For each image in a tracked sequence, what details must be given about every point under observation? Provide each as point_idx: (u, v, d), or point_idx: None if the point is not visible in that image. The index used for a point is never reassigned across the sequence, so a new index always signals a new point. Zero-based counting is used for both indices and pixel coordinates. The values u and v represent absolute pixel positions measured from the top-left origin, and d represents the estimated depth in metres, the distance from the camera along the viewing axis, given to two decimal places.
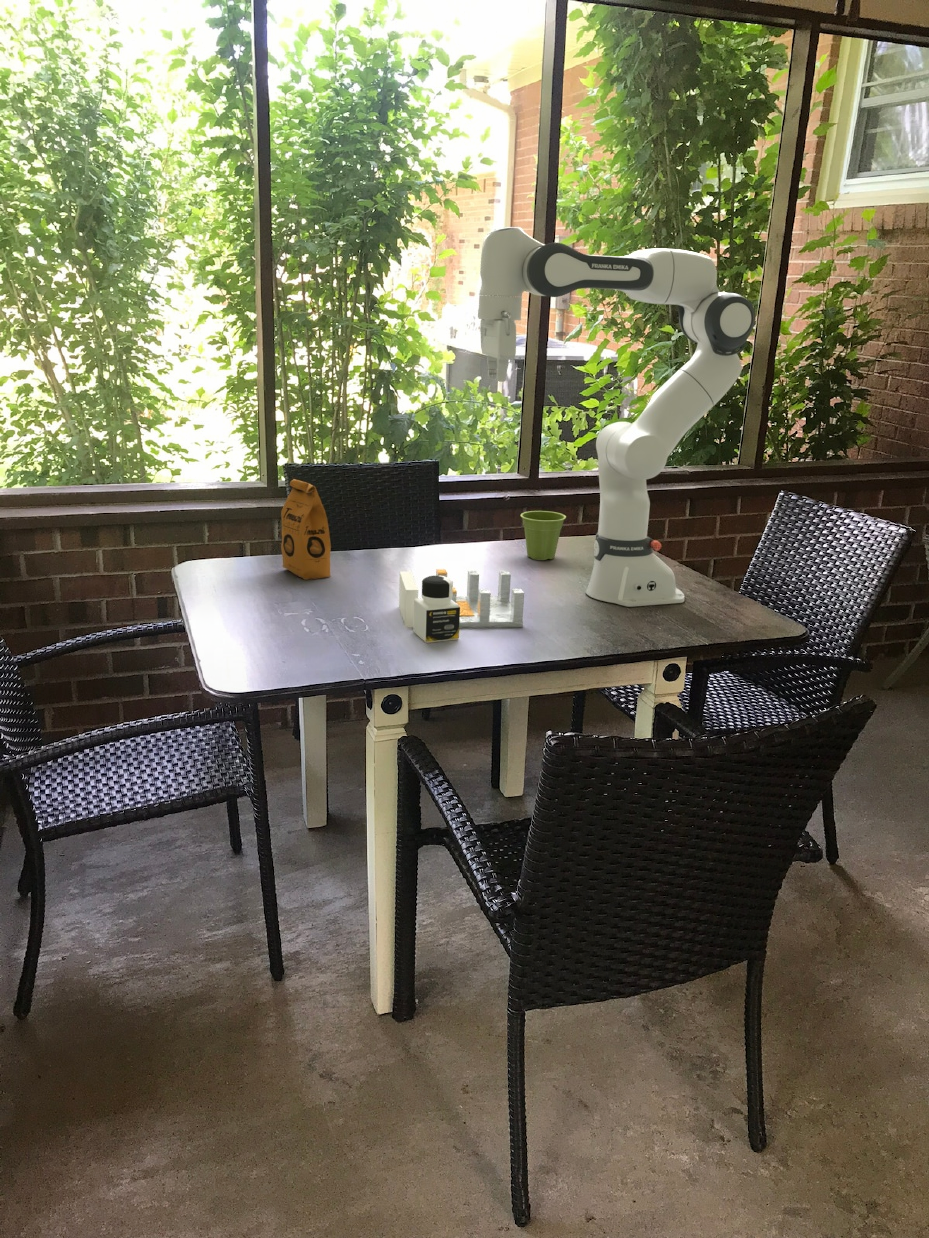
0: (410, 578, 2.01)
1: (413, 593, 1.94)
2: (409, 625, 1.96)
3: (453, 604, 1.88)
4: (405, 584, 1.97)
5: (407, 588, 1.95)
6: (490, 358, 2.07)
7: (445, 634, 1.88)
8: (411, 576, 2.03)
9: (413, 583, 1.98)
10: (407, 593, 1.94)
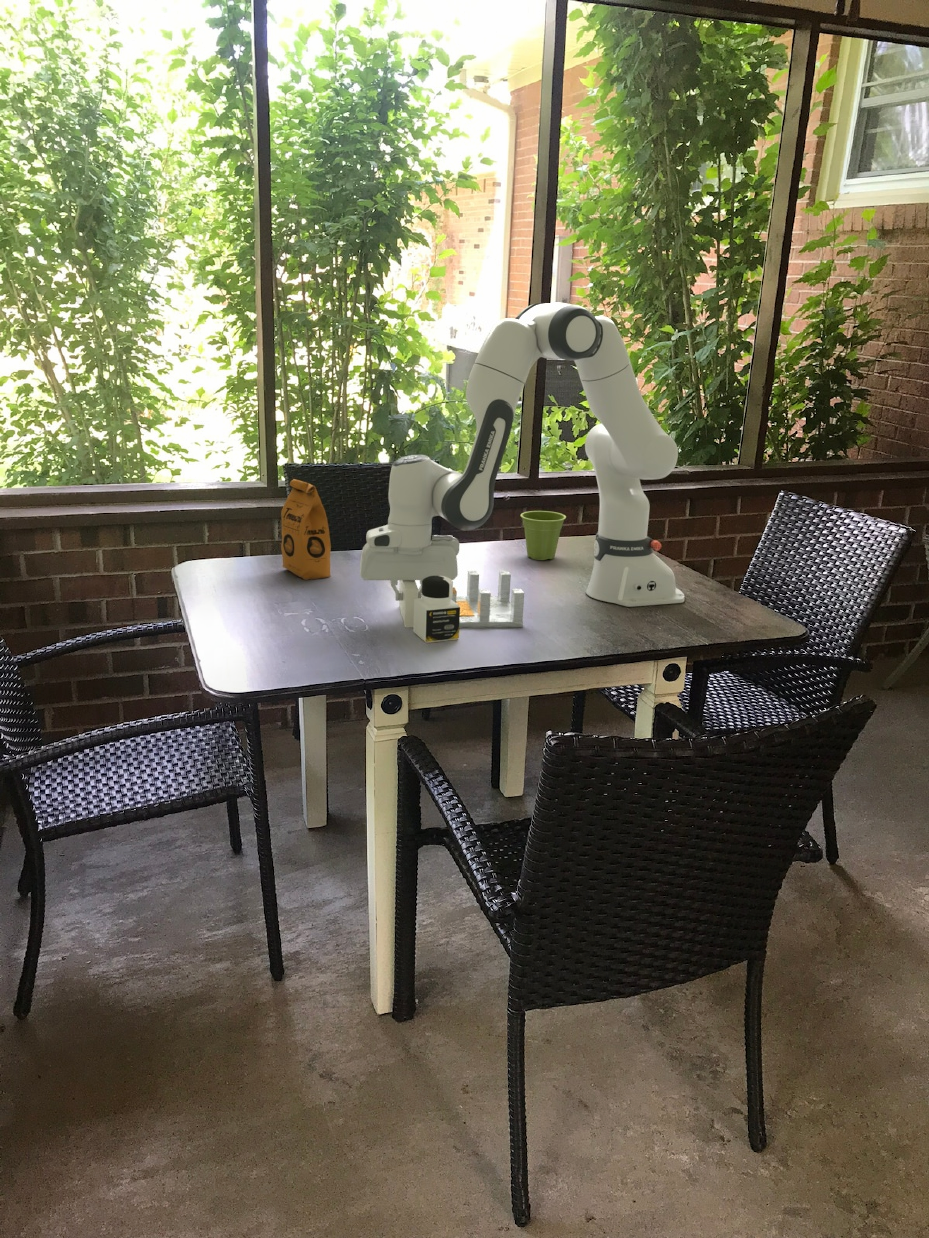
0: None
1: (413, 592, 1.94)
2: (409, 624, 1.96)
3: (453, 604, 1.88)
4: (405, 583, 1.97)
5: (407, 587, 1.95)
6: None
7: (445, 634, 1.88)
8: None
9: (413, 582, 1.98)
10: (407, 592, 1.94)
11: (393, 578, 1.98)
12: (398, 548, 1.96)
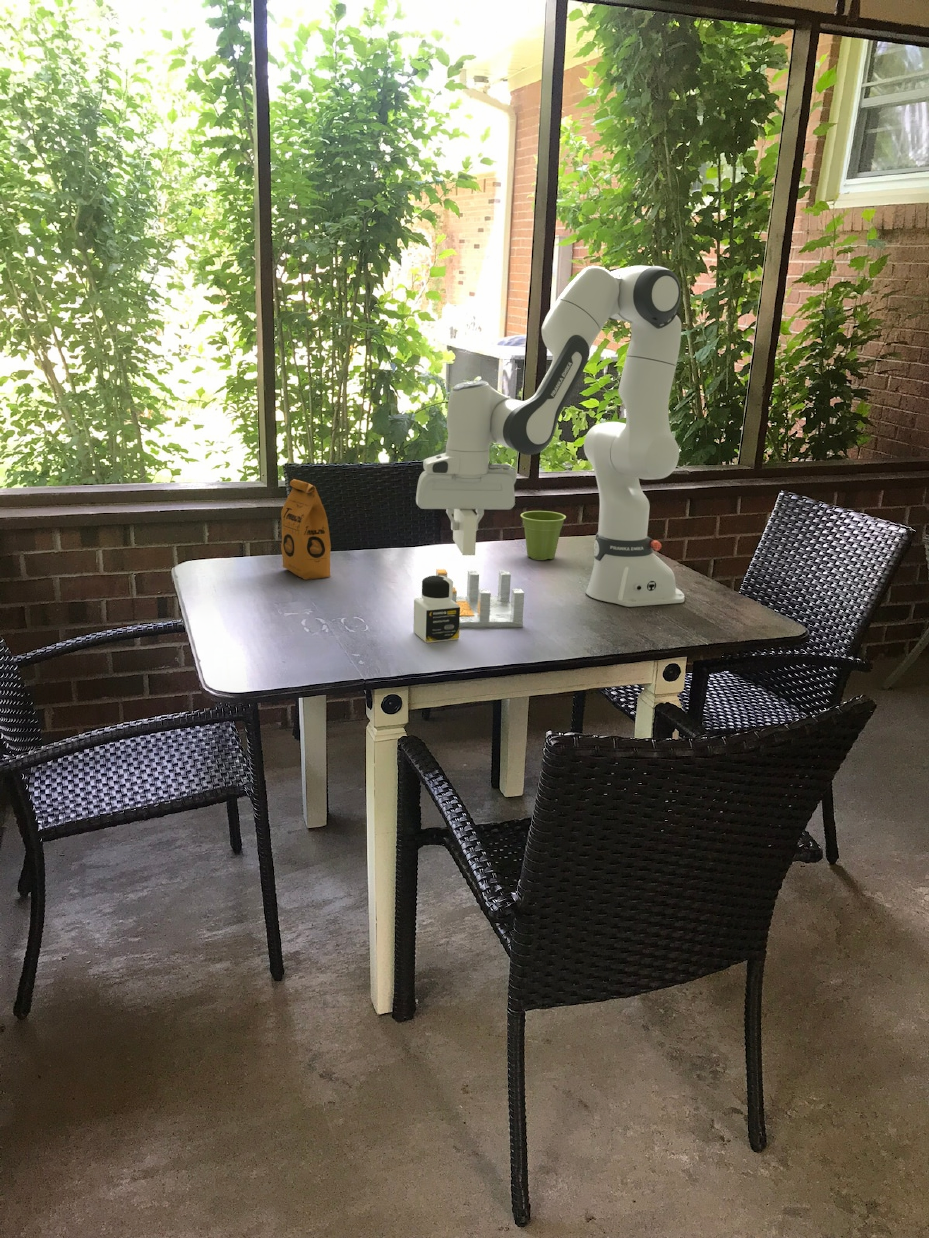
0: None
1: (472, 520, 1.92)
2: (467, 553, 1.94)
3: (453, 604, 1.88)
4: (462, 512, 1.95)
5: (465, 515, 1.93)
6: (453, 511, 1.98)
7: (445, 634, 1.88)
8: None
9: (470, 511, 1.96)
10: (465, 519, 1.92)
11: (450, 506, 1.96)
12: (456, 475, 1.94)
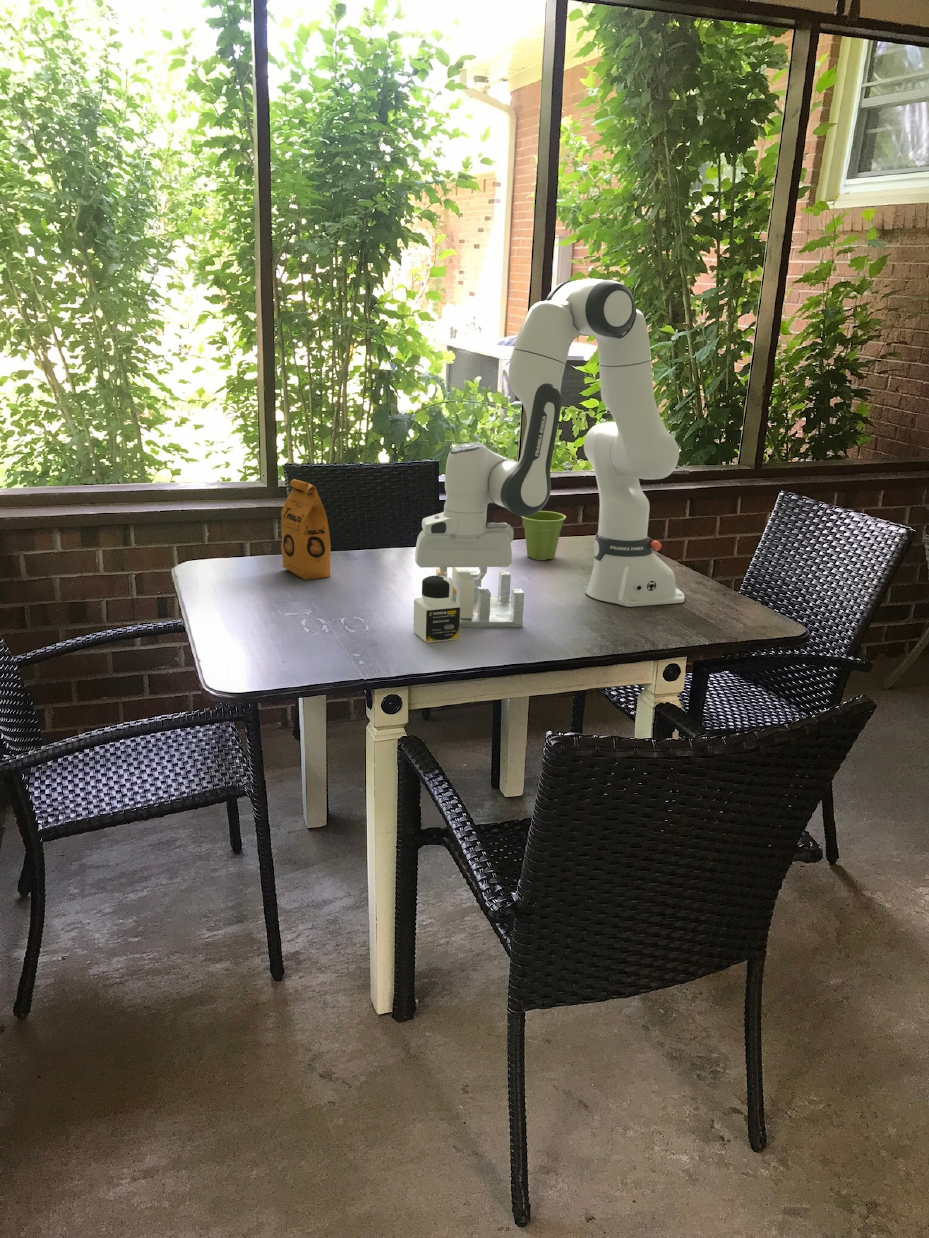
0: (464, 570, 2.04)
1: (469, 584, 1.96)
2: (465, 616, 1.98)
3: (453, 604, 1.88)
4: (460, 575, 2.00)
5: (463, 579, 1.97)
6: (446, 569, 2.01)
7: (445, 634, 1.88)
8: (465, 567, 2.06)
9: (468, 574, 2.01)
10: (463, 584, 1.96)
11: (448, 565, 2.00)
12: (454, 535, 1.98)
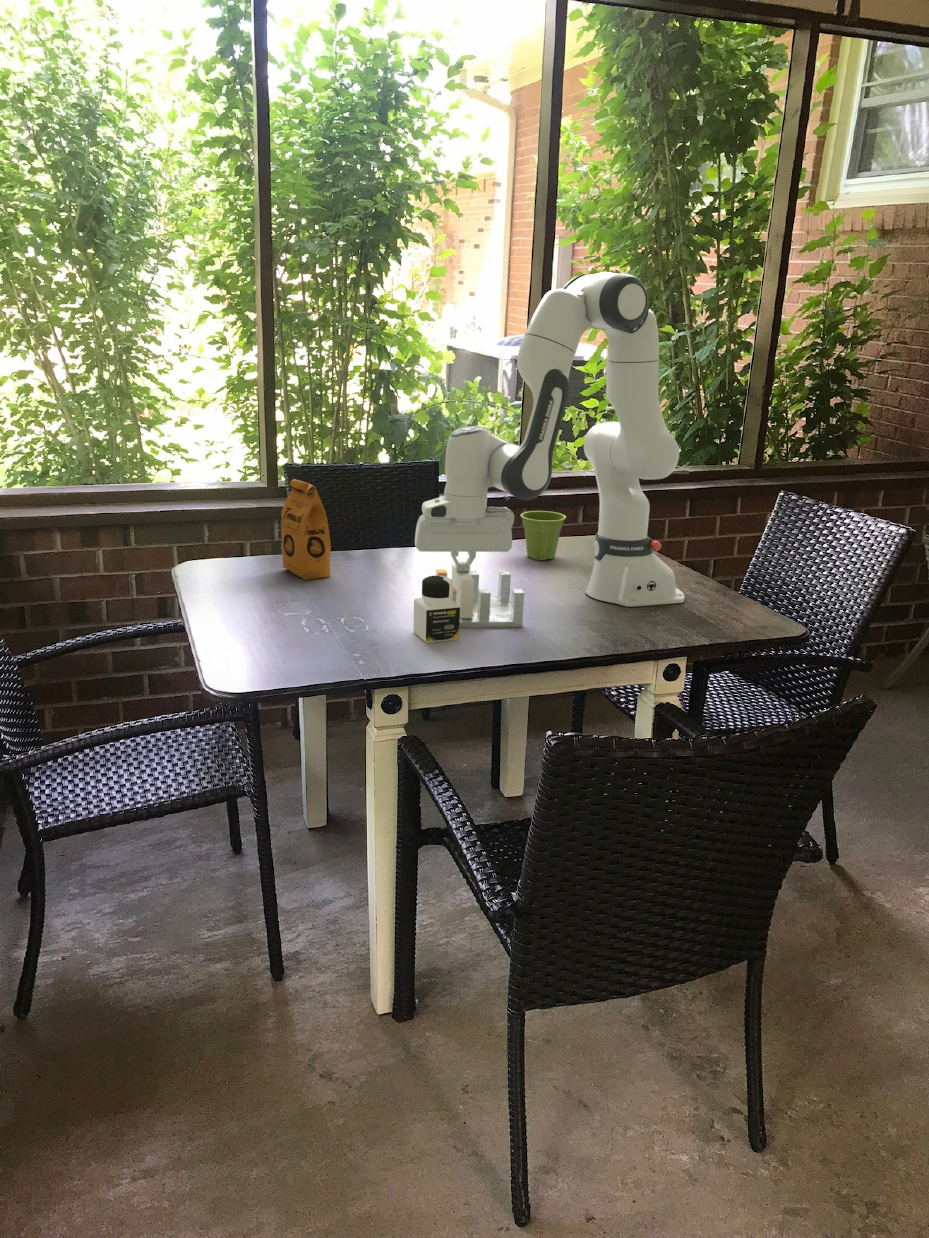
0: None
1: (469, 584, 1.96)
2: (465, 616, 1.98)
3: (453, 604, 1.88)
4: (460, 575, 2.00)
5: (463, 579, 1.97)
6: None
7: (445, 634, 1.88)
8: None
9: (468, 574, 2.01)
10: (463, 584, 1.96)
11: (448, 549, 1.99)
12: (454, 519, 1.97)
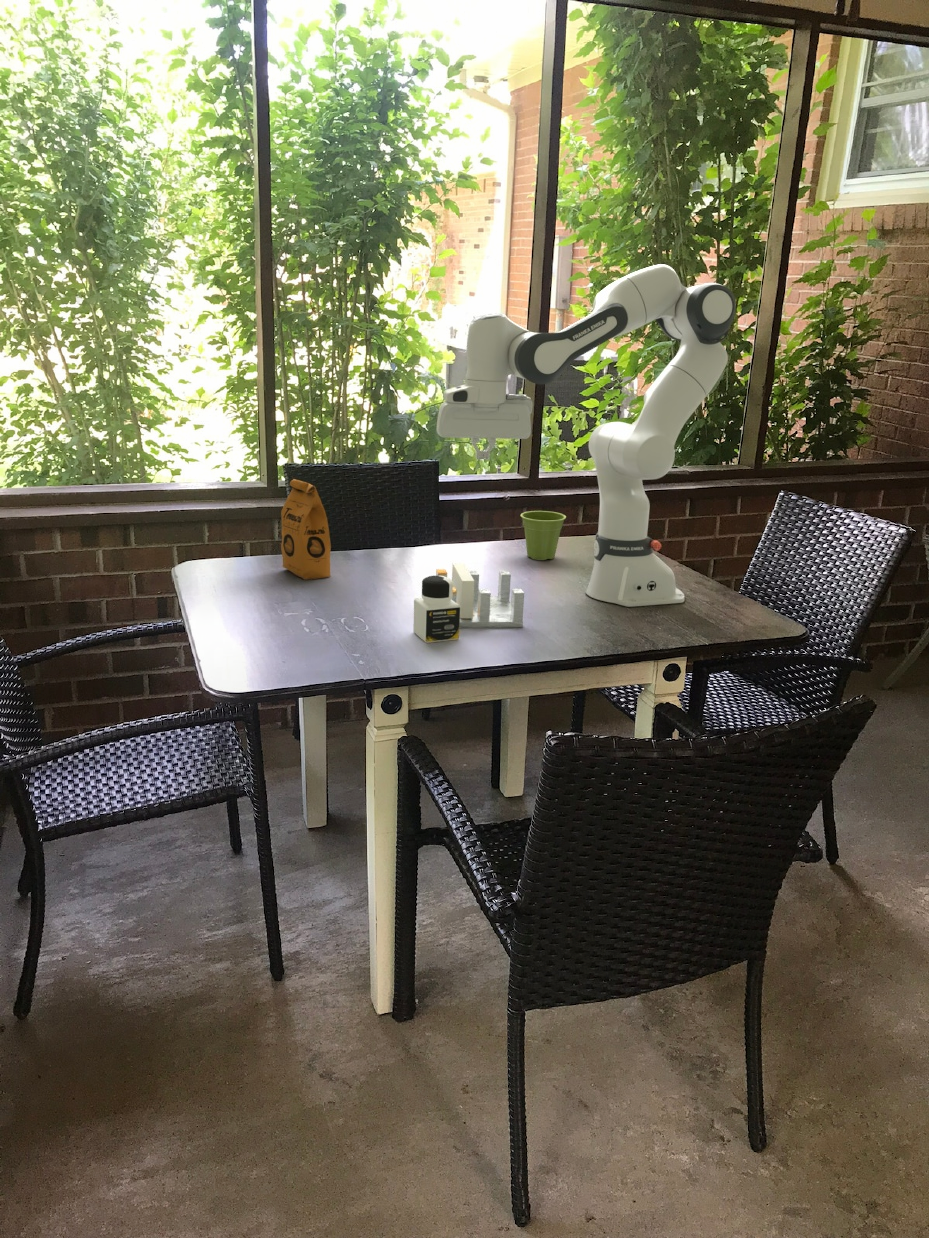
0: (464, 570, 2.04)
1: (469, 584, 1.96)
2: (465, 616, 1.98)
3: (453, 604, 1.88)
4: (460, 575, 2.00)
5: (463, 579, 1.97)
6: (478, 440, 2.07)
7: (445, 634, 1.88)
8: (465, 567, 2.06)
9: (468, 574, 2.01)
10: (463, 584, 1.96)
11: (469, 435, 2.05)
12: (475, 405, 2.03)
